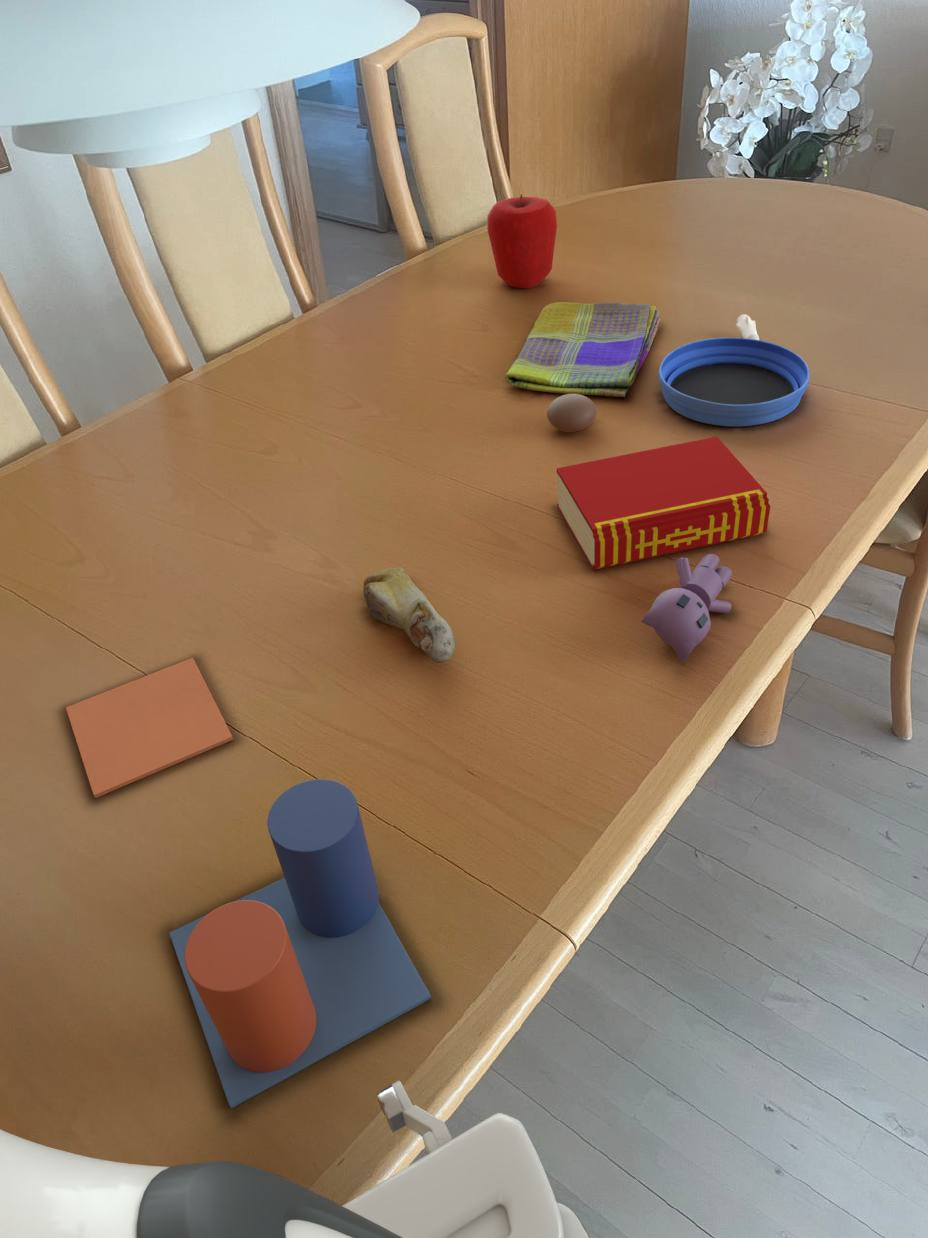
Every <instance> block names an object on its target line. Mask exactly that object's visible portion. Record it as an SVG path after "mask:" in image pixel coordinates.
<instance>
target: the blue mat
mask: <svg viewBox="0 0 928 1238" xmlns="http://www.w3.org/2000/svg"><path fill="white" fill-rule="evenodd" d="M242 900H252V901H258V902H261V903H264V904H266V905H268V906H270V907H272V908H273V909H274V910H275V911H276V912H278V914H279V915H280V916H281V918H282V920H283V921H284V924H285V927H286V930H287V932H288V935H289V938H290V941H291V944H292V946H293V949H294V952H295V955H296V957H297V960H298V963H299V966H300V968H301V971H302V974H303V977H304V979H305V982H306V985H307V988H308V990H309V993H310V996H311V999H312V1002H313V1004H314V1007H315V1011H316V1019H317V1020H316V1028H315V1032H314V1035H313V1038H312V1040H311V1042H310V1044H309V1045H308V1047H307V1048H306V1050H305V1051H304V1052H303V1053H302V1054H301V1055H300V1056H299V1057H298V1058H297V1059H296V1060H295V1061H294V1062H292V1063H291V1064H289V1065H287V1066H285V1067H283V1068H281V1069H278V1070H275V1071H271V1072H254V1071H250V1070H247V1069H245V1068H243V1067H241V1066H239V1065H238V1064H237V1063H236V1062H235V1061H234V1060H233V1059H232V1058H231V1056H230V1055H229V1053H228V1051H227V1049H226V1047H225V1045H224V1043H223V1041H222V1039H221V1037H220V1035H219V1033H218V1031H217V1029H216V1027H215V1025H214V1023H213V1021H212V1019H211V1017H210V1015H209V1013H208V1011H207V1009H206V1007H205V1005H204V1003H203V1001H202V999H201V997H200V995H199V994H198V992H197V990H196V988H195V986H194V984H193V982H192V980H191V978H190V976H189V974H188V971H187V969H186V965H185V958H184V957H185V948H186V944H187V941H188V939H189V937H190V934H191V933H192V931H193V929H194V928H195V927H196V925H197V924H198V923H199V922H200V921H201V920H202V919H203V918H204V917H205V916H206V915H207V914H205V915H204V916H200V917H199V918H197V919H195V920H193V921H191V922H189V923H187V924H185V925H183V926H180V927H178V928H177V929H174V930H172V931H170V932H169V933H168V934H169V937H170V940H171V942H172V945H173V948H174V949H173V950H174V951H175V954H176V957H177V960H178V963H179V965H180V966H179V967H180V968H181V972H182V974H183V977H184V980H185V982H186V985H187V988H188V991H189V994H190V997H191V1000H192V1003H193V1006H194V1009H195V1012H196V1014H197V1018H198V1020H199V1023H200V1026H201V1029H202V1032H203V1034H204V1038H205V1040H206V1043H207V1046H208V1049H209V1052H210V1055H211V1058H212V1060H213V1063H214V1067H215V1069H216V1072H217V1075H218V1077H219V1080H220V1084H221V1086H222V1090H223V1093H224V1096H225V1098H226V1101H227V1103H228V1107H229V1108H230V1109H234V1108H235V1107H237V1106H239V1105H241V1104H242V1103H244V1102H246V1101H248V1100H250V1099H253V1097H255V1096H257V1095H259V1094H261V1093H262V1092H264V1091H266V1090H268V1089H270V1088H271V1087H273V1086H275V1085H277V1084H279V1083H281V1082H282V1081H284V1080H286V1079H288V1078H290V1077H291V1076H293V1075H295V1074H297V1073H299V1072H301V1071H302V1070H304V1069H306V1068H308V1067H309V1066H311V1065H313V1064H315V1063H317V1062H319V1061H320V1060H323V1059H324V1058H326V1057H328V1056H330V1055H332V1054H333V1053H335V1052H337V1051H340V1049H343V1048H345V1047H346V1046H348V1045H350V1044H352V1043H353V1042H355V1041H357V1040H359V1039H361V1038H363V1037H364V1036H366V1035H368V1034H370V1033H371V1032H373V1031H375V1030H377V1029H378V1028H380V1027H382V1026H384V1025H386V1024H388V1023H390V1022H392V1021H393V1020H395V1019H397V1018H399V1017H400V1016H402V1015H405V1014H406V1013H408V1012H410V1011H412V1010H413V1009H415V1008H417V1007H418V1006H421V1005H422V1004H424V1003H426V1002H428V1001H429V1000H431V999H432V996H431V994H430V992H429V990H428V988H427V986H426V984H425V983H424V981H423V979H422V978H421V976H420V974H419V972H418V970H417V968H416V966H415V964H414V963H413V961H412V958H411V957H410V956H409V954H408V952H407V950H406V948H405V947H404V945H403V943H402V942H401V940H400V937H399V936H398V934H397V933H396V930H395V929H394V927H393V925H392V923H391V921H390V920H389V918H388V917H387V914H386V913H385V911H384V910H383V908H382V906H381V904H380V901H378V905H377V908H376V911H375V913H374V914H373V916H372V917H371V919H370V920H369V921H368V922H367V923H366V924H365V925H364V926H363V927H362V928H360V929H359V930H357V931H355V932H353V933H351V934H349V935H346V936H342V937H335V938H327V937H321V936H318V935H316V934H313V933H312V932H310V931H308V930H307V929H306V928H305V927H304V926H303V925H302V923H301V922H300V920H299V918H298V915H297V912H296V909H295V906H294V903H293V900H292V897H291V894H290V892H289V889H288V886H287V883H286V880H285V877H282V878H281V879H278V880H276V881H274V882H272V883H270V884H267V885H266V886H264V887H261V888H260V889H258V890H255V891H253V892H251V893H249V894H247V895H245V896H243V897H241V898H239V899H237V900H236V901H242Z"/></svg>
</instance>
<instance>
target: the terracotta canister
mask: <svg viewBox="0 0 928 1238" xmlns="http://www.w3.org/2000/svg"><path fill="white" fill-rule="evenodd" d="M205 915H206V916H205ZM205 915H204V916H205V917H204V918H203V919H202V920H201V921H200V922H199V923H198V924H197V925H196V927H195V928H194V929H193V931H192V933H191V934H190V937H189V939H188V941H187V944H186V948H185V957H184V958H185V965H186V969H187V971H188V974H189V976H190V978H191V980H192V982H193V984H194V986H195V988H196V990H197V992H198V994H199V995H200V997H201V999H202V1001H203V1003H204V1005H205V1007H206V1009H207V1011H208V1013H209V1015H210V1017H211V1019H212V1021H213V1023H214V1025H215V1027H216V1029H217V1031H218V1033H219V1035H220V1037H221V1039H222V1041H223V1043H224V1045H225V1047H226V1049H227V1051H228V1053H229V1055H230V1056H231V1058H232V1059H233V1060H234V1061H235V1062H236V1063H237V1064H238V1065H239V1066H241V1067H243V1068H245V1069H247V1070H250V1071H254V1072H271V1071H275V1070H278V1069H281V1068H283V1067H285V1066H287V1065H289V1064H291V1063H292V1062H294V1061H295V1060H296V1059H297V1058H298V1057H299V1056H300V1055H301V1054H302V1053H303V1052H304V1051H305V1050H306V1048H307V1047H308V1045H309V1044H310V1042H311V1040H312V1038H313V1035H314V1032H315V1028H316V1020H317V1019H316V1011H315V1007H314V1004H313V1002H312V999H311V996H310V993H309V990H308V988H307V985H306V982H305V979H304V977H303V974H302V971H301V968H300V966H299V963H298V960H297V957H296V955H295V952H294V949H293V946H292V944H291V941H290V938H289V935H288V932H287V930H286V927H285V924H284V921H283V920H282V918H281V916H280V915H279V914H278V912H276V911H275V910H274V909H273V908H272V907H270V906H268V905H266V904H264V903H261V902H258V901H252V900H242V901H237V900H234V901H232V902H228V903H225V904H223V905H221V906H218V907H216V908H215V909H213V910H211V911H210V912H208V914H205Z"/></svg>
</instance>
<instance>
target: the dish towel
mask: <svg viewBox="0 0 928 1238" xmlns="http://www.w3.org/2000/svg"><path fill="white" fill-rule="evenodd" d="M659 315H660V311H659V310H657V306H656V305H650V303H619V302H599V303H579V302H573V301H560V302H553V303H550V304H549V303H548V304H547V305H545V306H544V307H543V308H542V310H541V311H540V313H539V315H538V317H537V319H536V321H535V322H534V325H533V326H532V329H531V330H530V333H529V334H528V335H527V337H526V340H525V342H524V344H523V346H522V349H521V351H520V352H519V354H518V356H517V357H516V359H515V360H514V362H513V363H512V364H511V366H510V368H509V369H508V370H507V372H506V374H505V375H504V380H505V382H506V383H507V384H509V385H511V386H513V387H517V388H521V389H525V390H530V391H535V392H537V391H538V392H545V393H546V392H547V393H555V394H563V395H566V394H580V395H590V396H601V397H602V396H605V397H614V398H625V397H626V395H627V392H628V391H629V389H630V388H631V387H632V386H633V384H634V381H635V380H636V377H637V375H638V373H639V371H640V369H642V366H643V364H644V363H645V360H646V359H647V356H648V353H649V352H650V351H651V347H652V345H653V341H654V339H655V337H656V335H657V332H658V329H659V326H660V323H661V321H662V318H661V317H659Z"/></svg>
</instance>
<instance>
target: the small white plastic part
mask: <svg viewBox="0 0 928 1238" xmlns="http://www.w3.org/2000/svg"><path fill="white" fill-rule="evenodd" d="M735 326H736V328H737V330H738V331H739V333H740V335H741V338H747V339H755V340H760V336H759V334H758V332H757V326H756V321H755V320H752V318H751V317H750V316H749V315H747V314H745V313H744V314H743V313H742V314H741V315H739V316H738V317H737V318H736V323H735Z"/></svg>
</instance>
